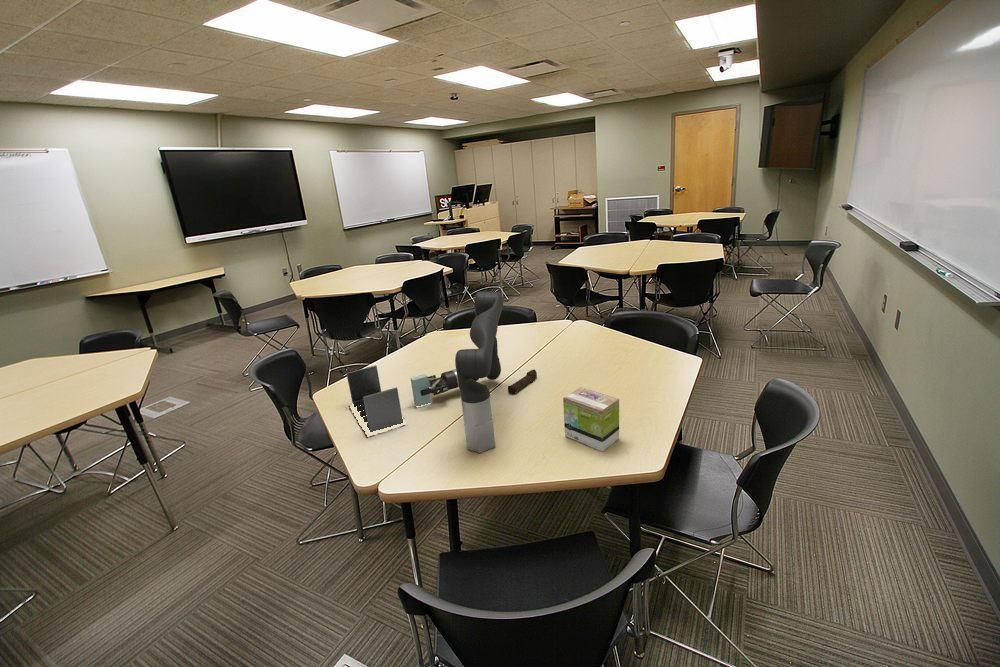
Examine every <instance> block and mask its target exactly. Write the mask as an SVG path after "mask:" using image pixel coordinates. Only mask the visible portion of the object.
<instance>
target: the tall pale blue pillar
mask: <svg viewBox="0 0 1000 667" xmlns="http://www.w3.org/2000/svg"><path fill="white" fill-rule="evenodd" d="M428 377H429V376H428V375H427V374H425V373H424V374H420V375H417V376H413V377H410V384H411V389H412V396H413V402H414V406H415V405H416V406H421V405H425V404H428V403H431V404H432V399H431V398H432V397H431V394H427V395H424V396H422V395H421V393H420V391H421V390H424V389H427V388H430V387H429V383H428ZM416 406H415V407H416Z"/></svg>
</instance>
